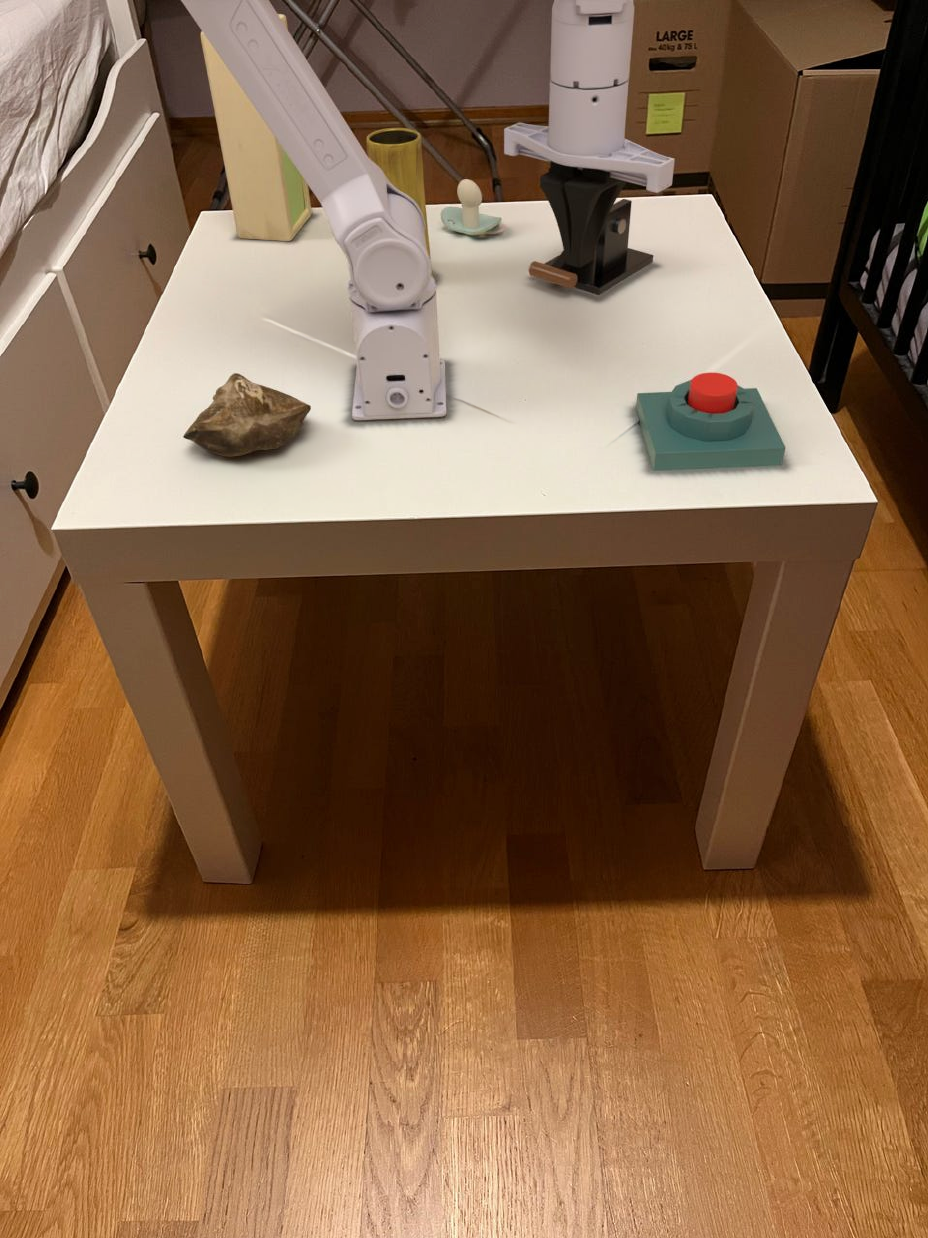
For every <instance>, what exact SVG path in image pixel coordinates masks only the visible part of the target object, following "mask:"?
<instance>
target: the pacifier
mask: <svg viewBox="0 0 928 1238" xmlns="http://www.w3.org/2000/svg"><path fill="white" fill-rule="evenodd" d="M456 192H457V198H458V200H459V201H460V203H461V207H459V206H447V207H444V208H442V209H441V211H440V220H441V222H442V224H443V225H444V226H445V227H446V228H448V229H449V230H450V231H453V232H457V233H460V234H464V235H467V236H475V237H476V236H477V237H479V236H480V237H481V236H485V235H497V234H501V233H504V232H505V230H506V225H505V224H504V223H503V222H502V217H501V216H499V217H498V216H493V215H487V214H483V213H480V211H479V210H480V209H479V207H480V205H481V204H482V202H483V194H482V191H481V189H480V187H479V186H478V184H477V183H476V182H474V181H473V180H472V179H468V178H464V179H462V180H460V182H459V183H458V185H457V191H456Z"/></svg>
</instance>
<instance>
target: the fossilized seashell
mask: <svg viewBox="0 0 928 1238" xmlns="http://www.w3.org/2000/svg"><path fill="white" fill-rule="evenodd" d="M212 400H213V401H212V402H211V404H210V405H208V407H207V408H205V409H204V410H203V411H201V412H200V413H199V414H198V415H197V417H196V419H195V420H194V422H193V423H191V425H190V426H189V427H188V429H187V430H186V431H185V433H184V434H183V439H185V440H189V441H191V442H193V443H194V444H196V445H197V446H199V447H201V448H202V449H204V450H206V452H209V453H212V454H215V455H219V456H222V457H241V456H244V455H247V454H251V453H253V452H255V451H261V450H262V451H263V450H264V451H267V450H273V449H275V450H276V449H278V448H280V447H282V446H283V445H286V444H287V443H288V442H290V441H291V440H292V439H294V437H295V436H296V435H297V434H298V433H299V431H300V429H301V427H302V425H303V423H304V421H305V419H306V417H307V415H308V414H309V413H310V412H311V410H312V408H311V405H309V404H308V403H305V401H302V400H300V399H298V398H297V397H294V396H292V395H290V394H288V393H285V392H283V391H280V390H277V389H273V388H271V387H268V386H265V385H263V384H259V383H255V382H252V381H251V380H249V379H248V378H246V377H245V376H244V375H242V374H240V373H238V372H234V373H232V374H231V375H230V376H229V377H228V379H227V380H226V382H225V383H224V384H223V385H222V386H219V387H218V388H216V391H215V394H213V396H212Z"/></svg>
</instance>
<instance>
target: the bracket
mask: <svg viewBox="0 0 928 1238" xmlns="http://www.w3.org/2000/svg"><path fill="white" fill-rule="evenodd" d="M632 203H633V201H632V200H630V199H626V198H622V199H620V200H619V201H617V202H614V204H613V206H612V208H611V210H610V212H609V214H608V216H607V219H606V221H605V224H604V226H603V229H602V232H601V234H600V237H599V240H598V244H597V247H596V251H595V254H594V258H593V260H592V261H591V262H589V263H587V264H585V265H584V266H582V267H579V268H578V267H575V266H572V265H570V266H569V267H568V268H567V269H566V271H568V272H571V273H574V274H576V275H577V283H576V285H575V287H574V288H573V289H577V290H581V291H583V292H587V293H590V294H593V295H596V296H600V295H601V294H603V293H605V292H607V291H608V290H610V289H612V288H613V287H615V286H616V285H618V284H620V283H621V282H622V281H625V280H626V279H628V278H629V277H631V276H633V275H634V274H636V273H637V272H639V271H641V270H643V269H644V268H646V267H647V266H649V265H650V264H652V263H653V262H654V254H650V253H647V252H644V251H641V250H637V249H634V248H631V247H629V240H630V239H629V237H630V227H631V215H632V214H631V213H632ZM558 257H559V255H557V256H555V257H554V258H552V259H550V260H548V261H546V262H545V263H543V264H546V265H549V266H551V265H552V264H553V263H554V261H555V260H556V259H557V258H558Z"/></svg>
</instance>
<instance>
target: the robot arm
mask: <svg viewBox="0 0 928 1238" xmlns="http://www.w3.org/2000/svg"><path fill="white" fill-rule="evenodd" d="M180 2H181V3H182V4H183V5H184V7H185V8H186V10H187V11H188V13H189V14H190V16H191V18H193V20H194V22H195V23H196V24H197V26H198V27H199V29H200V30H201V31H202V32H203V33H204V34H205V36H206V37H207V39H208V40H209V42H210V43H211V45H212V46H213V48H214V49H215V50H216V52H217V53H218V55H219V56H220V58H221V59H222V61H223V62H224V64H225V65H226V66H227V68H228V69H229V71H230V72H231V74H232V75H233V77H234V78H235V80H236V81H237V82H238V84H239V85H240V87H241V88H242V90H243V91H244V93H245V94H246V95H247V97H248V98H249V100H250V101H251V103H252V104H253V106H254V107H255V109H256V110H257V111H258V113H259V114H260V116H261V117H262V119H263V120H264V122H265V123H266V125H267V126H268V127H269V129H270V130H271V132H272V133H273V135H274V136H275V138H276V139H277V141H278V142H279V143H280V145H281V146H282V148H283V149H284V151H285V152H286V154H287V155H288V156H289V158H290V159H291V161H292V162H293V164H294V165H295V167H296V168H297V170H298V171H299V172H300V174H301V175H302V177H303V178H304V180H305V181H306V183H307V184H308V188H309V189H310V190H311V191H312V193H313V195H314V196H315V197H316V198H317V200H318V202H319V203H320V205H321V207H322V209H323V212H324V215H325V217H326V219H327V223H328V224H329V227H330V230H331V232H332V235H333V238H334V239H335V241H336V243H337V245H338V246H339V248H340V249H341V251H342V252H343V254H344V256H345V258H346V260H347V264H348V270H349V271H348V272H349V277H350V280H349V282H348V286H347V288H348V289H347V291H348V299H349V307H350V316H351V325H352V333H353V341H354V350H355V358H356V371H355V380H354V390H353V400H352V411H351V417H352V419H353V420H355V421H372V420H392V419H393V420H394V419H396V420H399V419H418V418H420V419H421V418H440V417H445V416H446V415H447V389H446V388H447V387H446V386H447V385H446V384H447V383H446V360H445V359H444V358H442V357H441V355H440V340H439V339H440V338H439V320H438V319H439V318H438V317H439V316H438V302H437V283H436V282H437V281H436V280H435V278H434V276H433V277H432V276H431V272H433V269H432V270H431V268H432V260H431V261H430V258H431V257H430V258H429V255H428V252H427V248H426V241H425V221H424V216H423V214H422V211H421V209H420V208H419V206H418V205H417V203H416V202H415V201H414V200H413V199H412V198H411V197H409V196H408V195H406V194H405V193H403V192H401V191H400V190H398V189H397V188H395V187H394V186H393V185H392V184H391V183H390V181H389V180H388V179H387V177H386V176H385V174H384V172H383V171H382V169H381V168H380V167H379V166H377V165H376V164H375V163H374V162H373V161H372V160H371V159H369V157H368V154H367V153H366V151H365V150H364V149H363V147H362V145H361V144H360V142H359V140H358V139H357V137H356V136H355V134H354V133H353V131H352V130H351V128H350V126H349V125H348V123H347V121H346V120H345V118H344V117H343V115H342V113H341V112H340V110H339V109H338V107H337V106H336V104H335V103H334V101H333V99H332V98H331V96H330V95H329V93H328V91H327V90H326V89H325V87H324V85H323V83H322V81H321V80H320V79H319V78H318V76H317V74H316V73H315V71H314V70H313V68H312V67H311V64H310V63H309V62H308V60H307V58H306V56H305V55H304V53H303V52H302V50H301V49H300V46H298V44H297V42H296V41H295V39H294V38H293V36H292V34H291V33H290V32H289V29H288V30H287V28H288V27H287V28H286V27H285V25H284V24H283V22H282V20H281V19H280V17H279V16H278V14H279V13H278V12H277V11H276V8H274V6H273V5H272V3H271V1H270V0H180ZM551 7H552V8H551V28H550V29H551V30H550V31H551V32H550V66H549V67H550V68H549V70H550V71H549V101H548V102H549V103H548V126H547V125H538V124H529V123H524V122H517V123H515V124H512V125H510V126H507V127H505V128H504V129H503V142H504V143H503V147H504V148H503V154H504V155H507V156H511V157H516V156H517V157H518V155H521V156H525V157H529V158H533V159H537V160H541V161H545V162H549V165H550V167H549V168H548V171H547V172H546V173H544V174H542V175H540V177H539V188H540V189H541V191H542V192H543V194H544V196H545V197H546V200H547V202H548V203H549V205H550V208H551V210H552V212H553V215H554V218H555V221H556V224H557V227H558V231H559V235H560V239H561V244H562V248H563V250H564V254H565V259H566V264H569V265H572V266H575V267H578V268H579V267H582V266H584V265H585V264H587V263H589V262H591V261H592V260H593V258H594V254H595V251H596V247H597V244H598V240H599V237H600V234H601V232H602V229H603V226H604V224H605V221H606V219H607V216H608V214H609V212H610V210H611V208H612V206H613V204H615V203H616V200H617V199H618V197H619V195H620V194H621V192H622V190H623V189H624V187H625V186H626V184H627V183H631V184H635V185H638V186H639V185H640V186H643V187H646V188H645V189H646V191H647V192H651V193H655V194H658V193H661V192H662V191H665V190H667V189H668V188H669V187H671V186H672V185H673V177H674V170H675V158H674V157H671V156H666V155H663V154H660V153H657V152H655V151H654V150H651V149H649V148H646V147H644V146H642V145H640V144H638V143H635V142H633V141H632V140H629V139H627V138H625V136H626V133H625V132H626V120H627V108H628V96H629V95H628V94H629V82H630V81H629V80H630V73H631V71H630V70H631V60H632V58H631V57H632V47H633V45H632V44H633V43H632V42H633V34H634V19H635V4H634V0H554V1H553V4H552V6H551Z"/></svg>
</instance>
